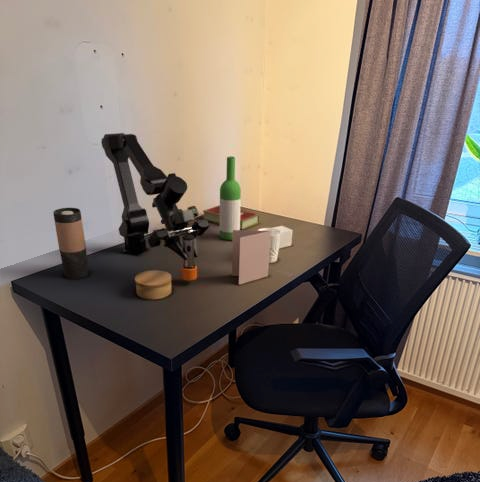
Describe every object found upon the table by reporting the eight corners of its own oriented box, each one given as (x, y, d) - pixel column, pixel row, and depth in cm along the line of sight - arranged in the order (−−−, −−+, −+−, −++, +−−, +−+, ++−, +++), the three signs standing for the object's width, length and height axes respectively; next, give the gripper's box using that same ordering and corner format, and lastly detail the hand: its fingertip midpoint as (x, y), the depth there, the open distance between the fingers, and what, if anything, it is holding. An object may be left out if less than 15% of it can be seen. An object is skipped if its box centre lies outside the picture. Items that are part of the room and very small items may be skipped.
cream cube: (281, 240, 170) (282, 225, 167) (291, 245, 166) (292, 230, 163) (268, 243, 167) (269, 228, 164) (279, 248, 162) (280, 232, 160)
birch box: (129, 295, 126) (127, 281, 124) (148, 281, 135) (146, 267, 133) (161, 302, 123) (160, 287, 121) (178, 287, 132) (177, 273, 130)
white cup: (272, 265, 148) (274, 237, 143) (251, 260, 152) (253, 232, 147) (282, 258, 154) (285, 230, 149) (263, 253, 158) (264, 226, 153)
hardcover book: (220, 213, 199) (220, 204, 197) (258, 223, 188) (259, 213, 186) (202, 219, 190) (202, 210, 188) (242, 230, 179) (242, 220, 177)
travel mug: (94, 271, 140) (86, 209, 131) (79, 280, 134) (69, 216, 124) (74, 267, 142) (64, 206, 133) (58, 276, 136) (46, 213, 126)
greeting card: (267, 274, 141) (270, 229, 134) (269, 285, 135) (272, 238, 128) (231, 274, 141) (232, 229, 134) (232, 284, 134) (233, 237, 127)
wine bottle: (243, 236, 172) (246, 156, 158) (232, 242, 167) (234, 160, 152) (226, 232, 176) (227, 154, 162) (215, 238, 170) (215, 157, 156)
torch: (181, 274, 135) (180, 234, 129) (196, 273, 136) (196, 234, 130) (181, 280, 131) (180, 239, 125) (197, 280, 132) (196, 239, 126)
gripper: (150, 202, 119) (174, 253, 117) (206, 192, 130) (229, 238, 128) (138, 223, 128) (160, 270, 126) (191, 212, 139) (212, 255, 137)
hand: (191, 258), depth 129 cm, fingers closed on torch, 3 cm apart
